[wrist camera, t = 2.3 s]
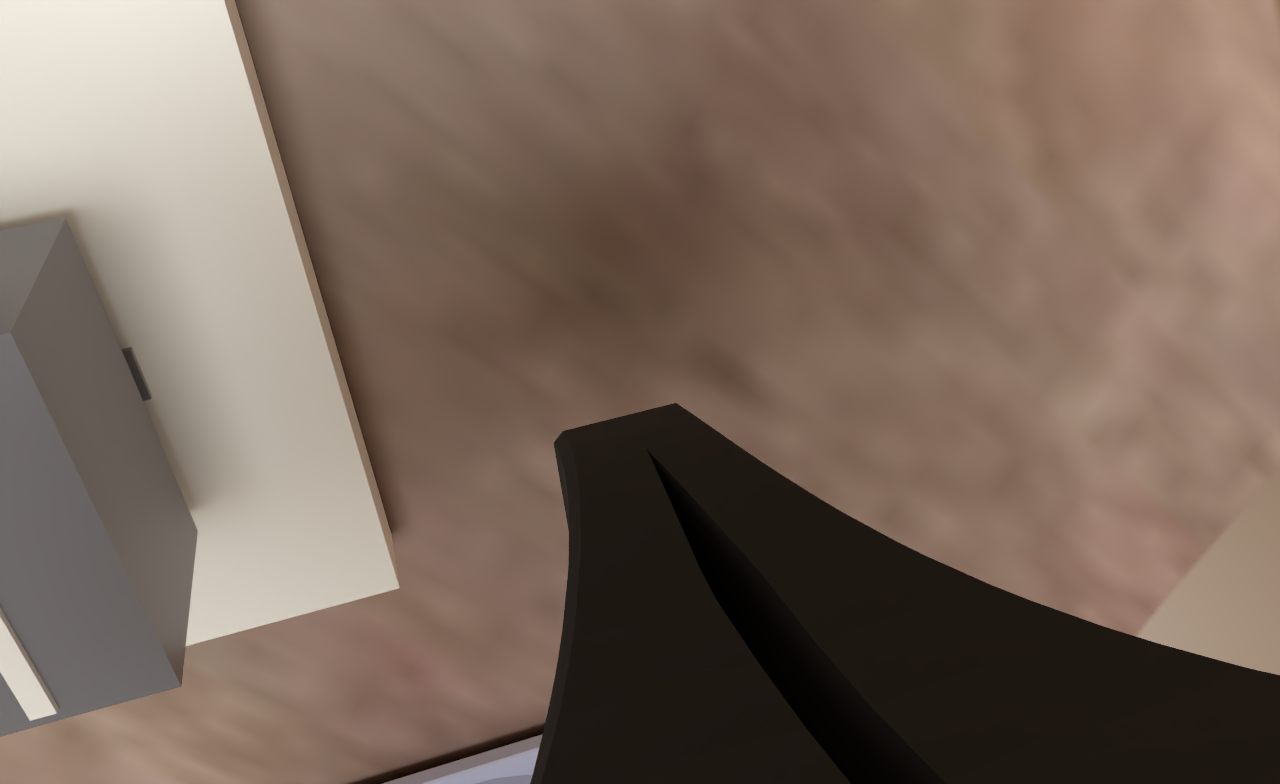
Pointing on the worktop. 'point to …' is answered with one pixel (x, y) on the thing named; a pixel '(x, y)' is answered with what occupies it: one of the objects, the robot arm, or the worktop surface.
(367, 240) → the worktop surface
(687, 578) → the robot arm
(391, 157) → the worktop surface
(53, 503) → the fader
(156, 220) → the mixer panel
